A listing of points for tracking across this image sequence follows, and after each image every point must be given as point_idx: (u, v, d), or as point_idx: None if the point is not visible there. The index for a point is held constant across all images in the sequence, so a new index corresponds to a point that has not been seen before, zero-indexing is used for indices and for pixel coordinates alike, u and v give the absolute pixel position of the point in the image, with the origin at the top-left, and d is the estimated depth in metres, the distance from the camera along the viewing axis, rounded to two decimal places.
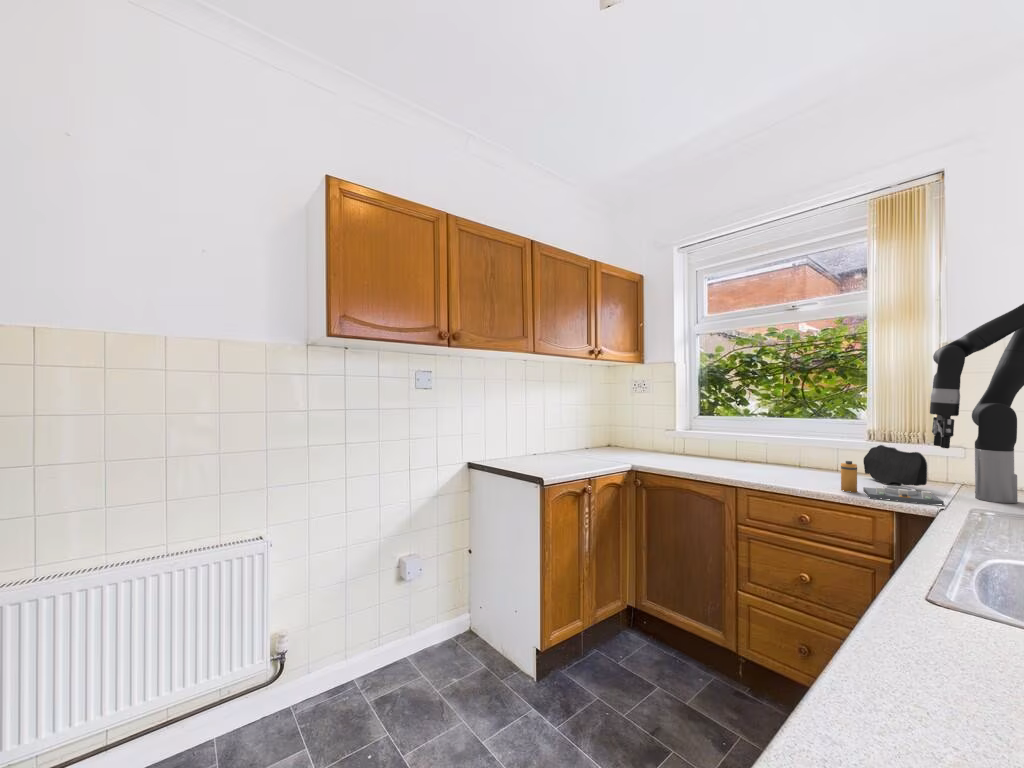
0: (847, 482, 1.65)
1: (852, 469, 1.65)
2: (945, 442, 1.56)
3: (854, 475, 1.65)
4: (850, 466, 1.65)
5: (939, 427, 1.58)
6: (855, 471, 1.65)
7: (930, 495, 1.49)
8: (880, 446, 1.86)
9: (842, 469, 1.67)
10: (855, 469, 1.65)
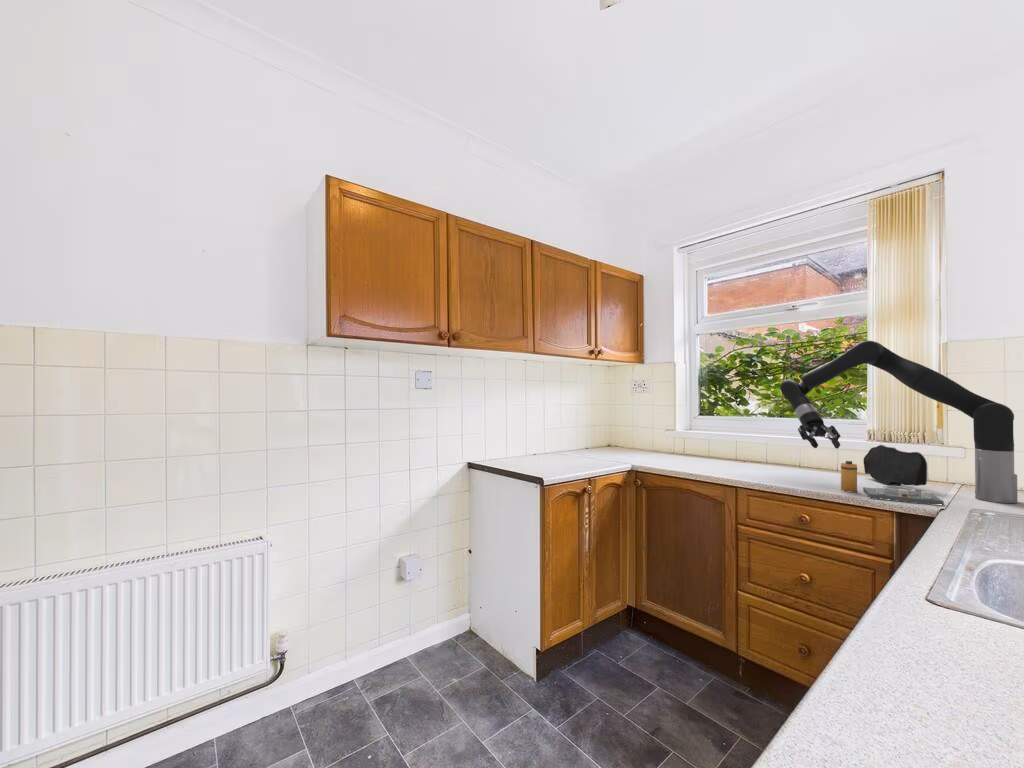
0: (847, 482, 1.65)
1: (852, 469, 1.65)
2: (811, 443, 1.80)
3: (854, 475, 1.65)
4: (850, 466, 1.65)
5: None
6: (855, 471, 1.65)
7: (930, 495, 1.49)
8: (880, 446, 1.86)
9: (842, 469, 1.67)
10: (855, 469, 1.65)
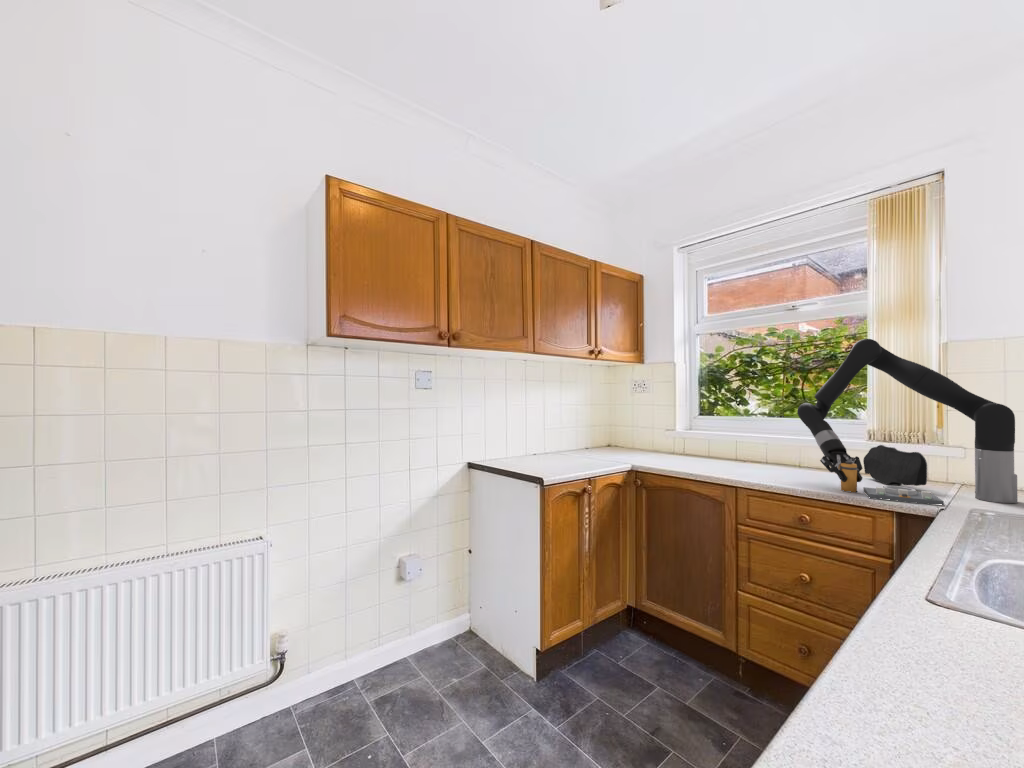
0: (847, 482, 1.65)
1: (852, 469, 1.65)
2: (839, 476, 1.67)
3: (854, 475, 1.65)
4: (850, 466, 1.65)
5: None
6: (855, 471, 1.65)
7: (930, 495, 1.49)
8: (880, 446, 1.86)
9: (842, 469, 1.67)
10: (855, 469, 1.65)
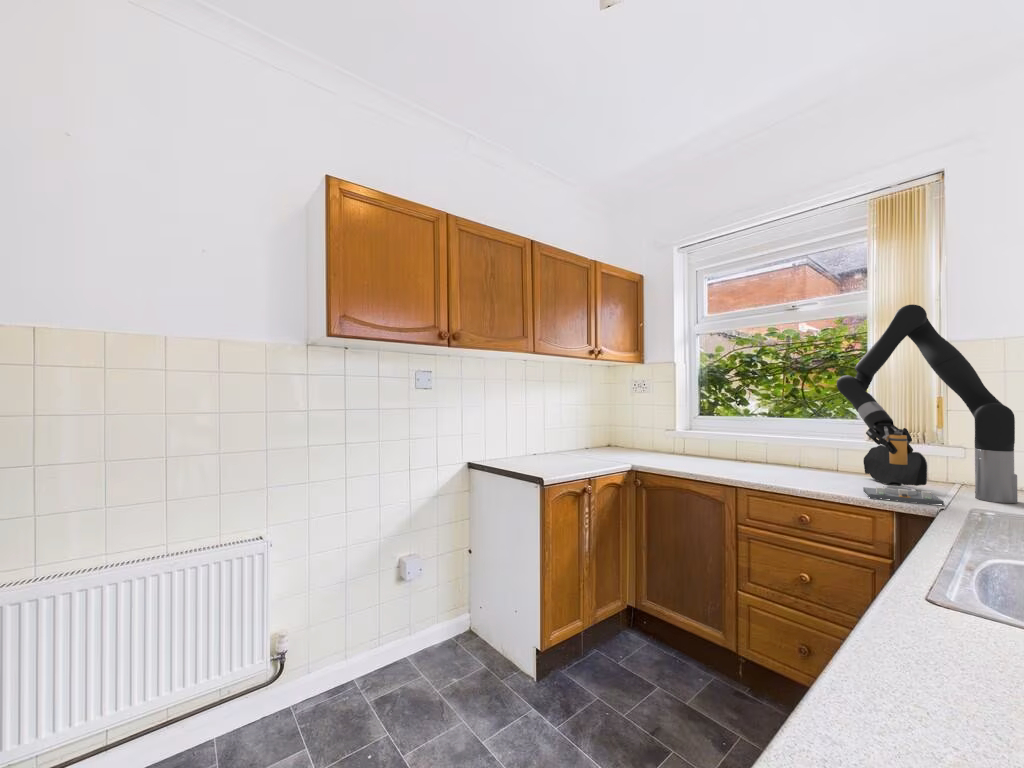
0: (897, 455, 1.56)
1: (902, 440, 1.56)
2: (888, 448, 1.58)
3: (904, 447, 1.56)
4: (900, 437, 1.56)
5: None
6: (905, 442, 1.56)
7: (930, 495, 1.49)
8: (880, 446, 1.86)
9: (891, 441, 1.58)
10: (905, 440, 1.56)
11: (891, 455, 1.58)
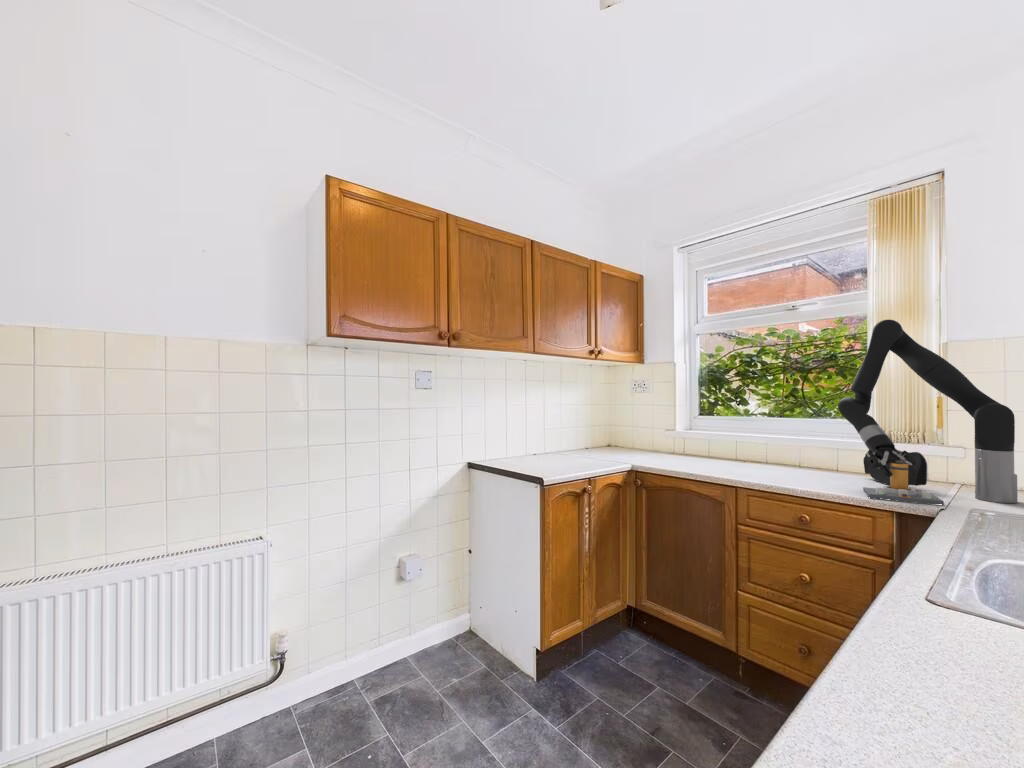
0: (897, 483, 1.56)
1: (903, 469, 1.56)
2: (883, 471, 1.58)
3: (905, 476, 1.56)
4: (901, 466, 1.56)
5: None
6: (906, 471, 1.56)
7: (930, 495, 1.49)
8: None
9: (892, 469, 1.58)
10: (906, 469, 1.56)
11: (892, 483, 1.58)
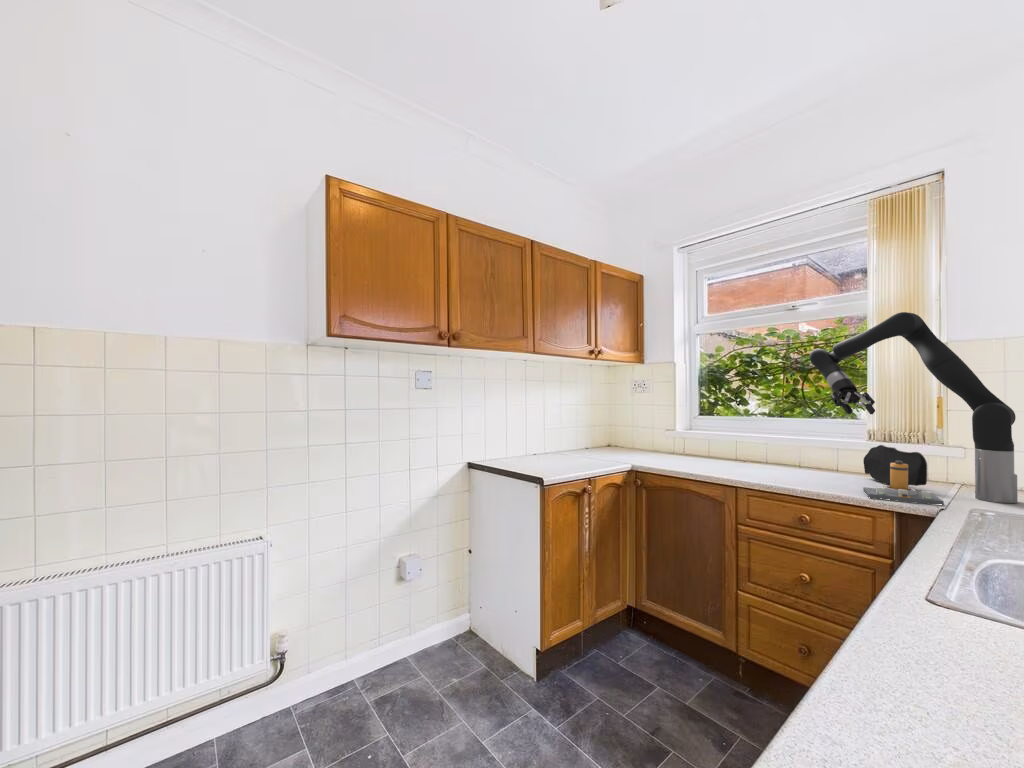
0: (898, 484, 1.56)
1: (903, 469, 1.55)
2: (845, 409, 1.78)
3: (905, 476, 1.55)
4: (901, 466, 1.56)
5: None
6: (906, 472, 1.56)
7: (930, 495, 1.49)
8: (880, 446, 1.86)
9: (892, 469, 1.58)
10: (906, 469, 1.55)
11: (892, 484, 1.58)
